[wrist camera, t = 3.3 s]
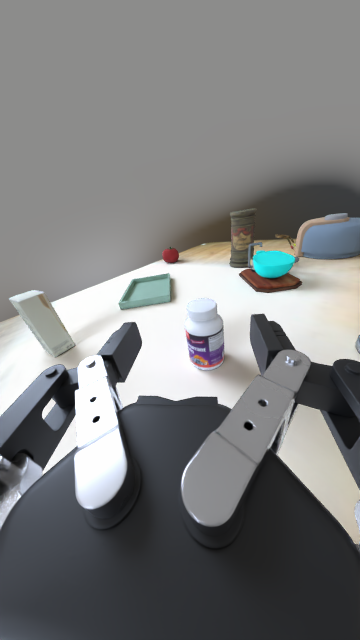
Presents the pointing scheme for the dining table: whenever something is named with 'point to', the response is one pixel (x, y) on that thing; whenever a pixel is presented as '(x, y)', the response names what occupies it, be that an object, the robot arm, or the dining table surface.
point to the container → (242, 237)
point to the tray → (146, 291)
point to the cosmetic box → (43, 321)
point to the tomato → (170, 255)
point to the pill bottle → (204, 334)
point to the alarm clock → (329, 237)
